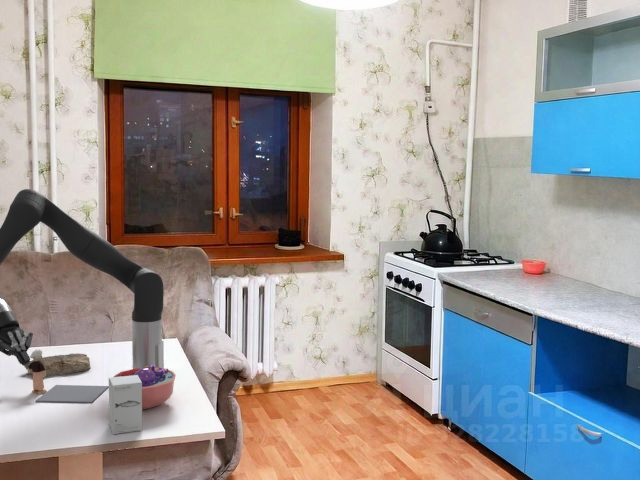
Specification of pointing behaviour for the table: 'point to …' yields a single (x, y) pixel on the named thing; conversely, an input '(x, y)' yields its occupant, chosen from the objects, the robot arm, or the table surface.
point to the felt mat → (72, 394)
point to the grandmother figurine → (37, 372)
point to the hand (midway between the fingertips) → (26, 363)
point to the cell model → (153, 384)
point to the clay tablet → (64, 364)
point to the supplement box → (125, 404)
